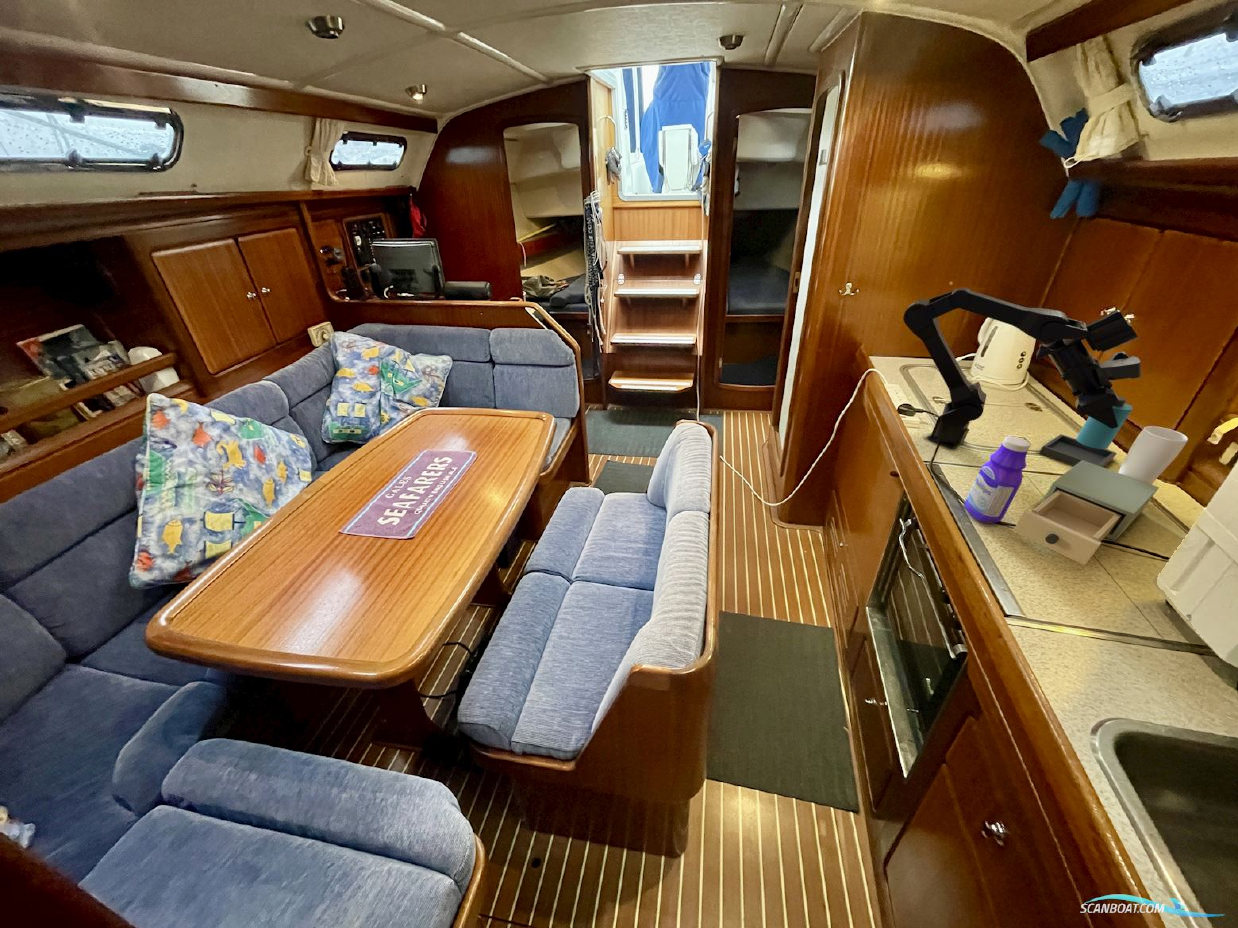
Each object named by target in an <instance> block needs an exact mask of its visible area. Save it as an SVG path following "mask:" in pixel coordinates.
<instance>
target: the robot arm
mask: <svg viewBox="0 0 1238 928" xmlns="http://www.w3.org/2000/svg"><path fill="white" fill-rule="evenodd" d="M957 309H961V310H964V311H967V312H970V313H973V314H976V315H978V316H982V317H985V318H989V319H992V320H995V321H997V322H1001V323H1004V324H1007V325H1010V326H1013V327H1014V328H1016V329H1018V330H1020V331H1021V332H1022V333H1024V334H1025V335H1027V336H1029V337H1031V338H1032V339H1035V340H1036V341H1038V342H1041V343H1039V345H1038V346H1039V347H1038V350H1037V351H1036V353H1035V356H1036V357H1035V358H1036V359H1037V360H1041V359H1042V358H1045V357H1047V356H1048V357H1049V359H1050V360H1051V361H1052V363H1053V364H1054V365H1055V367H1056V368H1057V370H1058V372H1059V373H1060V376H1061V379H1062V380H1063V382H1066V385H1067V386H1068V387H1069V388H1070V390H1071V393H1072V395H1073V397H1074V398H1075V397H1077V398H1076V400H1075V402H1074V405H1075V409H1076V411H1077V413H1078V414H1079V415H1080V416H1081V417H1085V416H1088V417H1089V416H1090V417H1091V418H1093V419H1095V420H1097V421H1099V422H1101V423H1102V424H1104V425H1106V426H1108V427H1109V428H1111V429H1114V428H1117V427H1118V423H1117V420H1116V417H1115V414H1114V411H1113V406H1114V405H1116V404H1118V403H1119V402H1120V401H1119V399H1118V397H1119V396H1118V395H1117V393H1116V392H1115V390H1114V389H1113V388H1112V387H1113V382H1112V381H1117V380H1125V379H1126V380H1127V379H1131V380H1132V379H1138V378H1141V377H1142V367H1141V366H1142V364H1141V360H1140V358H1139V357H1138V356H1135V355H1131V356H1129V355H1128V354H1127V353H1126V352H1125V351H1118V352H1114V354H1113V355H1112V357H1111V358H1110V359H1107V360H1106V361H1102V362H1100V361H1099V360H1098V359H1097V358H1095V357H1093V356H1092V354H1091V353H1090V351H1089V350H1088V349H1087V347H1086V345H1085V344H1084V342H1083V340H1085V341H1086V343H1087V344H1088V346H1089V347H1090V349H1091V350H1092V351H1093V352H1096V351H1097V352H1098V353H1099V352H1102V353H1105V352H1108V351H1110V350H1112V349H1115V348H1117V347H1119V346H1122V345H1124V344H1127V343H1130V342H1132V341H1135V340H1136V339H1139V335H1138V334H1137V332H1136V331H1135V329H1134V328H1133V326H1132V325H1131V323H1130V322H1129V320H1128V319H1125V316H1124V315H1123V313H1122V311H1120V309H1116V310H1113V311H1111V312H1109V313H1108V314H1107V315H1105V316H1103V317H1101V318H1098V319H1096V320H1094V321H1091V322H1089V323H1087V324H1086V322H1085V321H1081V320H1077V319H1074V318H1073V319H1072V318H1069V317H1068V315H1066V313H1065V312H1063V311H1061V310H1056V309H1048V308H1041V307H1027V306H1022V305H1019V304H1016V303H1012V302H1008V301H1006V300H1002V299H1000V298H996V297H993V296H989V295H986V294H983V293H981V292H977V291H974V290H971V289H970V288H967V287H963V286H962V287H958V288H956V289H954V290H952V291H949V292H946V293H942V294H940V295H936V296H934V297H931V298H929V299H925V298H920V299H919V298H918V299H917V300H914V301H913V302H912V303H911V304H909V306H908V308H906V310H905V311H904V314H903V317H902V319H903V323H904V324H905V326H906V327H907V328H908V329H909V330H910V331H911V332H912V334H914V335H915V336H916V337H917V338H918V339H920V340H921V342H922V343H923V345H924V347H925V348H926V350H927V352H928V354H929V356H930V358H931V359H932V361H933V363H934V365H935V367H936V369H937V370H938V372H939V373H940V376H941V377H942V379H943V381H944V383H945V385H946V386H947V388H948V391H949V395H950V401H949V402H946V403H945V405H944V408H943V411H942V413H941V414H940V415H938V417H937V419H936V422H935V424H934V427H933V429H932V431H931V434H930V435H928V436H927V437H926V439H927V440H929V441H931V442H934V443H936V444H939V445H941V446H943V447H944V446H945V447H946V448H949V449H955V448H956V447H958V446H961V445H962V444H964V442H965V441H966V439H967V436H968V434H969V431H970V428H969V425H970V423H971V422H973V421H976V420H978V419H979V418H980V417H982V415H983V413H984V410H985V404H986V400H987V393H985V392H984V391H983V389H982V386H981V383H980V382H979V381H976V382H974V383H972V382H970V381H969V379H967V377H966V376H965V373H964V371H963V370H962V368H961V366H960V364H959V362H958V361H957V359H956V357H955V355H954V353H953V351H952V350H951V347H950V346H949V344H948V343H947V340H946V338H945V337H944V335H943V333H942V331H941V329H940V323H939V317H940V316H944V315H945V314H947V313H950V312H952V311H954V310H957ZM1117 396H1118V397H1117Z"/></svg>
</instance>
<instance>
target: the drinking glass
mask: <svg viewBox="0 0 1238 928" xmlns="http://www.w3.org/2000/svg"><path fill="white" fill-rule="evenodd" d="M1188 441H1189V438H1188V436H1186V435H1185V434H1183V433H1182V432H1179V431H1177V430H1174V429H1172V428H1171V429H1170V428H1167V427H1163V426H1157V425H1147V426H1144V427H1143V428H1142V429H1141V430H1140V432H1139V434H1138V435H1137V437H1136V438H1135V440H1134V441H1133V443H1132V445H1131V446H1130V448H1129V450H1128V451H1127V454H1126V456H1125V457H1124V459H1123V461H1122V464H1121V465H1120V467H1119V469H1118V471H1117V473H1120V474H1123V475H1126V476H1128V477H1131V478H1134V479H1137V480H1140V481H1142V482H1145V483H1148V484H1151V485H1153V483H1154V482H1155V481H1156V480H1157V479H1159V477H1160V476H1161V475H1162V474H1163V472H1164V471H1165V470H1167V468H1168V467H1169V466H1170V465H1171V464H1172V462H1173V461H1175V459H1176V458H1177V457H1178V455H1180V453H1181V452H1182V451H1183V448H1184V447H1185V446H1186V444H1187V442H1188Z"/></svg>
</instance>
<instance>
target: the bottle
mask: <svg viewBox="0 0 1238 928" xmlns="http://www.w3.org/2000/svg"><path fill="white" fill-rule="evenodd" d="M1031 446H1032V444H1031V442H1029V441H1028V440H1027V439H1024V438H1021V437H1019V436H1012V435H1011V436H1005V437H1004V438H1003V441H1002V442H1001V444H1000V446H999V448H998V449H997V450H996V451H995V452H993V453H992V454H990V456H989V459H990V460H988V461H986V462H985V463H983V464H982V466H981V467H980V469H979V471H978V473H977V476H976V478H975V480H974V482H973V484H972V486H971V488H970V490H969V493H968V494H967V496H966V499H965V501H964V508H965V510H966V511H967V513H969V515H970V516H972V518H973V519H975V520H977V521H979V522H981V523H992V524H993V523H994V524H996V523H1000V522H1001V521H1002V520H1003V519H1004V517H1005V515H1006V514H1007V512H1008V510H1009V508H1010V505H1011V503H1012V502H1013V500H1014V498H1015V496H1016V494H1017V492H1018V490H1019V489H1020V486H1021V485H1022V482H1023V470H1024V469H1025V468H1026V467H1027V462H1026V458H1027V454H1028V452H1029V450H1030V448H1031Z"/></svg>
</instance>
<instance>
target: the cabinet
mask: <svg viewBox="0 0 1238 928" xmlns="http://www.w3.org/2000/svg"><path fill="white" fill-rule="evenodd" d="M1159 489H1160V487H1159V486H1157V485H1154V484H1152V485H1151V484H1148V483H1145V482H1142V481H1140V480H1137V479H1134V478H1131V477H1128V476H1126V475H1123V474H1120V473H1118V471H1117V472H1116V471H1114V470H1112V469H1108V468H1106V467H1100V466H1098V465H1095V464H1092V463H1089V462H1086V461H1084V460H1082V461H1080V462H1079V463H1078V464H1076V465H1075V466H1072V467H1071V468H1069V470H1067V471H1066V472H1065V473H1063V474H1062V475H1061V476H1059V477H1058V478H1057V479H1055V480H1054V481H1053V482H1052V484H1051V486H1050V487H1049V489H1048V491H1047V492H1046V494H1045V496H1044V497H1043V499H1042V501H1041V503H1042V502H1044V501H1045V500H1046V499H1047V498H1049V497H1050V496H1051V495H1052V494H1054V493H1055V492H1056V491H1057V490H1060V491H1062V492H1065V493H1067V494H1070V495H1072V496H1074V497H1077V498H1079V499H1082V500H1084V501H1087V502H1089V503H1092V504H1094V505H1097V506H1099V507H1102V508H1104V509H1107V510H1109V511H1112V512H1114V513H1117V514H1119V515H1121V517H1120V518H1119V520H1118V521H1117V522H1116V524H1115V525H1114V527H1113V528H1112V529H1111V531H1110V532H1109V533H1108V534H1107V535H1106V537H1105V538H1107V539H1109V540H1111V541H1116V540H1117V539H1118V538H1119V537H1120V536H1121V535H1122V534H1123V532H1124V531H1125V530H1127V528H1128V527H1129V526H1130V525H1131V524H1132V523H1133V522H1134V521H1135V519H1136V518H1137V517H1138V516H1140V514H1141V513H1142V511H1144V509H1145V508H1146V506H1147V505H1148V504H1149V502H1150V501H1151V500H1152V498H1153V497H1154V496H1155V494H1156V493H1157V492H1158V490H1159Z"/></svg>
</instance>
